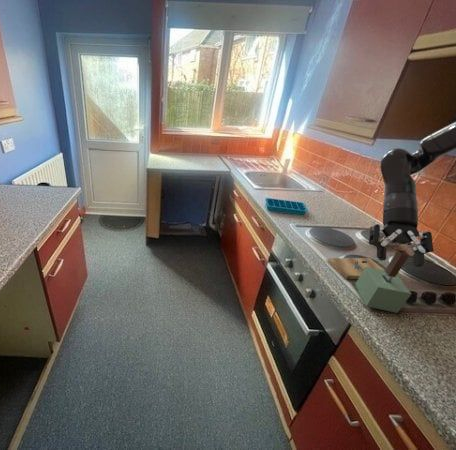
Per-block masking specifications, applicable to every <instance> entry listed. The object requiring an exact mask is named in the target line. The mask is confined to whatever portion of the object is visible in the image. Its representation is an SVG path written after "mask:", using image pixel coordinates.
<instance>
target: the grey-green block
mask: <svg viewBox="0 0 456 450" xmlns="http://www.w3.org/2000/svg"><path fill="white" fill-rule="evenodd" d="M385 270H386V269H384V270H381V269H376V268H370V267H365V268H364V269H363V271H362V273H361V275H360V277H359V278H358V279H356V282H355V284H354V286H355V288H356V290H357V291H358V293H359V295H360V297H361V299H362V300H363V303H364V304H365V307H368V308H372V309H377V310H382V311H386V312H391V313H395V314H398V313H399V312H400V310H401V309H402V307H403V306H404V305H405V304H406V302H407V301H408V300H409V298H410V296H411V295H412V292H411V290H409V289H408V287H407V286H406V284H405V283H404V282H403V281H402V280H401V278H400V277H399V276H398V274H397V275H396V277H393V278H392V279H391V281H390V283H388V282H386V281H385V279H384V278H383V277H384V275H385V273H386V272H385Z"/></svg>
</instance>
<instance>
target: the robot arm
mask: <svg viewBox="0 0 456 450" xmlns="http://www.w3.org/2000/svg"><path fill="white" fill-rule="evenodd" d="M454 151H456V120H455V121H453V122H451V123H450V124H448V125H446V126H444V127H442V128H440V129H438V130H436V131H434V132H432V133H431V134H428V135H427V136H425V137H423V138H422V139H421V140H420V141H419V148H418V149H416V150H415V151H414V152H412V153H411V152H410V151H408V149H404V148H392V149H390V150H388V151H387V152H385V153H384V154H383V156H382V157H381V159H380V161H379V162H380V163H379V169H380V173H381V177H382V180H383V183H384V193H383V194H384V195H383V196H384V199H383V204H382V225H383V226H381V225H380V224H378V223H377V224H374V225H372V226H370V229H369V237H368V244H369V245H370V246H374V247H376V258H377V259H378V261H386V260H387V245H388V244H389V243H392V244H400V245H405V246H406V247H407V248H409V249H410V250H411V251H412V253H413V254H412V255H413V258H412V259H413V260H412V261H413V263H412V264H413V267H422V266H423V265H424V264H425V254H428V253H432V252H434V244H433V243H434V242H433V234H432V232H431V231H425V232H423V231H419V230H418V225H419V207H418V206H419V205H418V204H419V203H418V199H417V183H416V180H415V179H414V178H413V176H412V175H415V174H417V173H419V172H421V171H422V170H424V169H425V168H426V167H428V166H429V165H431V164H432V163H434V162H435V161H436V160H438V159H440V158H441V157H443V156H445V155H447V154H450V153H452V152H454ZM380 233H382V234H383V235H384V237H382V238H381V239H380Z"/></svg>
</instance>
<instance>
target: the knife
mask: <svg viewBox="0 0 456 450" xmlns="http://www.w3.org/2000/svg"><path fill="white" fill-rule="evenodd" d="M409 257H410V254H409V253H408V252H407V251H406V250H403V249H402V250H401V249H397V250H396V252H395V253H394V255H393V256H392V258H391V260H390V262H388V265H387V267H386V268H385V269H384V270H385V272H386V273H385V275H384V277H383V278H384V279H385V281H386V282H388V283H390V281H391V279H392V278H393V277H396V275H397V276H398V274H399V272H400V271H401V269H402V268H403V266H404V265H405V263H406V262H407V260H408V258H409Z"/></svg>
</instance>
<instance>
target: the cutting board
mask: <svg viewBox="0 0 456 450" xmlns="http://www.w3.org/2000/svg"><path fill="white" fill-rule="evenodd" d="M357 261H358V266H360V267H361V269H360V268H359V270H358V269H357V268H356V269H355V262H357ZM362 261H367V263H362ZM327 262H328V263H329V264H330V265H331V266H332V267H333V268H334V269H335V270H336V271H337V272H338V273H339V274H340V275H341V276H342V277H343V278H345V280H358V278H359V277H360V275H361V273H362V271H363V270H362V269H364V268H365V267H370V268H376V269H381V270H385V269H384V268H383V267H382V266H380V265H379V264H377V263H376V261H374V260H373V259H371V258H370V257H348V258H347V257H329V258H328V261H327Z"/></svg>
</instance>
